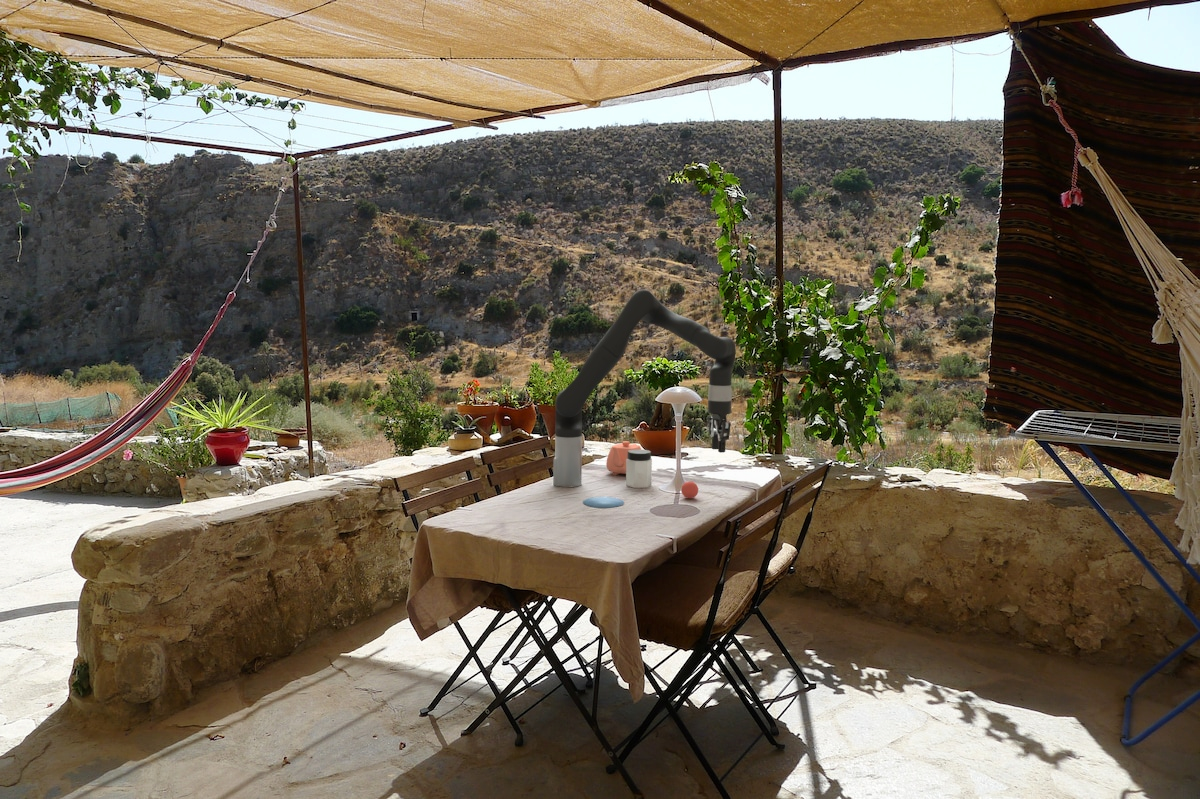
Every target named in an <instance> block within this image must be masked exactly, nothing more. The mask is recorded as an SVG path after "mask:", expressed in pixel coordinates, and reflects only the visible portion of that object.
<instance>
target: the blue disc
mask: <svg viewBox="0 0 1200 799" xmlns="http://www.w3.org/2000/svg"><path fill="white" fill-rule="evenodd" d="M582 504H583V505H585V506H587V507H592V508H598V509H599V508H601V509H606V508H607V509H608V508H617V507H621V506H623V505H624V504H625V500H622V499H621V498H616V497H611V496H596V497H595V496H594V497H589V498H586V499H584V500H582Z"/></svg>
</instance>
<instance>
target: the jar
mask: <svg viewBox="0 0 1200 799" xmlns="http://www.w3.org/2000/svg"><path fill="white" fill-rule="evenodd" d="M652 465H653V460H652V451H651V450H648V449H641V450H640V449H636V450H629V451H628V459H626V474H625V486H626V487H631V488H633V489H642V488H643V489H647V488H649V487H650V486H652V478H653V477H652V472H653V471H652V470H653V469H652V468H653V466H652Z"/></svg>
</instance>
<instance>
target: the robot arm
mask: <svg viewBox="0 0 1200 799" xmlns="http://www.w3.org/2000/svg"><path fill="white" fill-rule="evenodd" d="M641 321H643V322H645V323H648V324H652V325H654V326H657V327H661V328H662V329H664V330H666V331H668V332H671V333H672V334H673V335H675V336H677V337H679V338H680V339H682V340H684V341H685V342H686V343H687V342H688V343H689V344H691V345H693V346H695V347H696V348H697V349H699V351H701V352H702V353H703V354H704V355H706V356H708V357H709V358H711V359H714V365H713V366H712V367H710V370H709V376H708V377H709V379H708V382H709V386H708V392H707V394H708V395H707V413H708V414H709V415H711V416H708V418H707V420H708V423H707V424H708V433H709V434H708V435H709V436H710V438H711V449H712V450H717V452H719V453H725V452H726V444H727V443H726V441H728V440H730V434H731V433H730V432H731V425H732V422H730V421H728V420H727V415H730V414H732V398H733V397H732V396H733V395H732V394H733V391H732V390H733V389H732V370H733V368H734V364H735V359H736V352H737V348H736V343H735V341H734V340H733V339H732V338H731V337H728V336H717V335H714V334H713V333H711V331H710V329H709V328H708V327H706V326H704V325H702V324H701V323H699V322H697V321H695V320H693V319H691V318H688V317H686V316H683V315H680V314H677V313H676V312H673V311H672V310H670V309H669V308H667V307H666V306H665V305H664V304H662V303H661V302H660V300H659V299H658V298H657V297H656V295H654V294H653V293H652V292H651V291H650V290H648V289H639V290H637V291H635V292H634V293H633V294H632V295H631V296H630V298H629V300H628V301H627V302H626V304H625V305H624V307H623V309H622V311H621V312H620V314H619V315H618V317H617V318H616V320H615V321H614V322H613V324H611V326H610V328H608V330H607V331H606V333H605V334H604V336H603V337H601V338H600V340H599V341H598V343H597V344H596V346H594V348H593V349H592V351H591V352H590V354H589V355H588V357H587V358H586V360H585V361H584V363H583V365H582V367H581V369H580V371H579V372H578V374H577V375H576V376H575V378H574V379H573V380H572V381H571V382H570V384H568V385H567V387H566V388H564V389H562V390H561V391H559V392H557V395H556V396H555V397H556V398H555V400H554V401H555V403H554V405H555V410H554V411H555V412H554V414H555V416H554V417H555V418H554V421H555V422H554V426H555V427H554V428H555V429H554V433H555V434H554V435H555V436H554V438H555V439H554V444H555V445H554V449H555V450H554V457H553V461H552V462H553V463H552V464H553V469H552V472H553V474H552V475H553V476H552V478H553V479H552V481H553V486H557V487H562V488H574V487H575V488H576V487H579V486H581V485H582V479H583V478H582V476H583V474H582V473H583V472H582V470H583V469H582V465H583V464H582V463H583V459H582V458H583V457H582V456H583V421H582V420H583V406H584V405H585V403H586V402H587V400H588V398H590V395H591V394H592V392H593V391H594V390H595V389H596V388H597V386H599V384H600V383H601V382H602V381H603V380H604V379H605V378H606V377H607V376H608V375H609V374H610V372H611V371H612V370H613V369H614V368H615V366H616V365H617V364H618V363H619V361H620V360H621V359H622V356H623V355H624V354H625V352H626V349H627V346H628V344H629V340H630V338H631V334H632V333H633V331H634V329H635V328H636V327H637V325H638V324H639V323H640V322H641Z"/></svg>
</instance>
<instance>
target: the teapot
mask: <svg viewBox="0 0 1200 799" xmlns="http://www.w3.org/2000/svg"><path fill="white" fill-rule="evenodd" d="M636 449H640V450H642V448H641V446H640V445H639V444H638V445H637V444H636V443H633V444H631V442H630V441H627V440H626V441H625V440H624V441H622V443H618V444H615V445H612V446H611V447H610V449H609V452H608V454H607V457H606V464H605V465H606V468H607V470H608V472H611V473H612V474H611V475H612V476H618V475H619V474H625V475H626V459H628V451H629V450H636Z"/></svg>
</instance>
